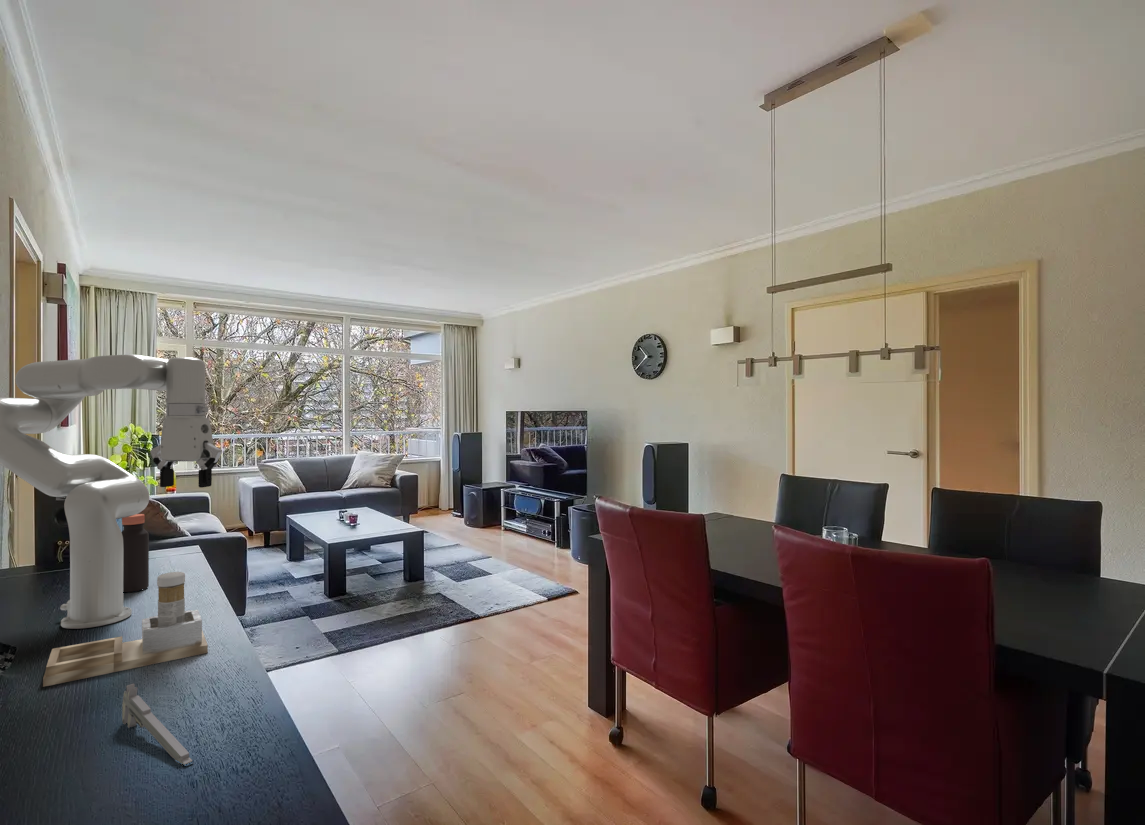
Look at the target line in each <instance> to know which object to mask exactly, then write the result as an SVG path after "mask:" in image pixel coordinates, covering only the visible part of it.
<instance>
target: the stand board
mask: <svg viewBox="0 0 1145 825" xmlns="http://www.w3.org/2000/svg"><path fill="white" fill-rule="evenodd" d="M208 646H209V645H208V642H207V640H206V637H205V634H204V631H203V630H202V643H200V644H195V646H190V647H185V648H180V649H175V650H170V651H165V652H159V653H154V654H151V653H149V654H144V655H143V649H142V638H141V639H136V640H130V641H125V642H123V635H121V636H117V637H112V638H111V637H110V638H105V639H100V640H99V639H98V640H93V641H90V642H89V641H88V642H83V643H78V644H72V645H67V646H60V647H54V648H52V649H51V651H50V654H49V658H48V660H47V663H46V666H45V671H44V675H43V678H42V688H43V687H49V686H54V685H59V684H64V683H69V682H73V681H78V680H82V679H88V678H93V677H99V676H103V675H107V674H111V673H116V672H121V671H126V670H131V669H136V668H141V667H147V666H150V665H155V664H159V663H166V662H169V661H170V662H171V661H174V660H179V659H184V658H185V659H186V658H189V657H193V656H199V655H203V654H208V652H209V649H208Z"/></svg>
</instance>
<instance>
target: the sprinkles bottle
mask: <svg viewBox="0 0 1145 825" xmlns="http://www.w3.org/2000/svg"><path fill="white" fill-rule="evenodd" d="M156 580H157V582H156V586H157V588H158V593H157V596H158V599H157V616H158V627H161V626H167V625H173V624H178V623H184V622H185V611H186V607H185V606H186V603H185V602H186V601H185V600H186V599H185V584H186V583H185V582H186V574H185V572H183V571H172V572H167V573H162V574H160V575H158V576H157V578H156Z"/></svg>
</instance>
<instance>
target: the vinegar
mask: <svg viewBox="0 0 1145 825" xmlns="http://www.w3.org/2000/svg"><path fill="white" fill-rule="evenodd" d="M145 517H146V516H145V514H144V513H138V514H136V515H133V516H129V517H125V518H121V526H122V527H123V530H121V532H122V536H123V548H124V549H123V592H130V593H134V592H133V591H137V592H140V591H139V590H141V591H143V590H142V589H144V590H146V589H145V588H147V587H148V588H149V583H150V580H149V579H150V578H149V577H150V572H149V570H150V568H149V566H150V562H149V561H150V556H149V555H150V549H149V548H150V545H149V544H150V543H149V542H150V539H149V538H150V536H149V535H150V533H149V531H148V530H146V529H145V528H144V525H145ZM148 588H147V589H148Z"/></svg>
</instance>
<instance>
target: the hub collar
mask: <svg viewBox="0 0 1145 825" xmlns="http://www.w3.org/2000/svg"><path fill="white" fill-rule="evenodd" d="M202 631H203V619H202V616H201V614H200V611H199V609H195V610H192V609H191V610H190V609H189V610H185V622H184V623H178V624H173V625H167V626H161V627H158V615H155V616H149V617H147V618H142V619H141V639H142V649H143V655H144V654H149V653H151V654H154V653H159V652H165V651H170V650H175V649H180V648H185V647H190V646H195V644H200V643H202Z"/></svg>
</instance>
